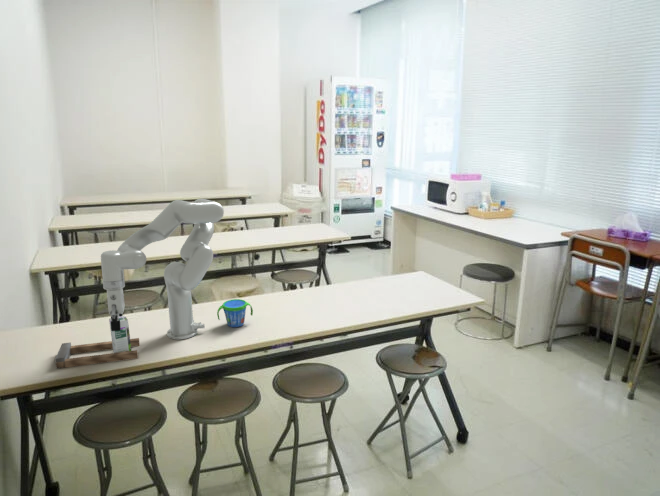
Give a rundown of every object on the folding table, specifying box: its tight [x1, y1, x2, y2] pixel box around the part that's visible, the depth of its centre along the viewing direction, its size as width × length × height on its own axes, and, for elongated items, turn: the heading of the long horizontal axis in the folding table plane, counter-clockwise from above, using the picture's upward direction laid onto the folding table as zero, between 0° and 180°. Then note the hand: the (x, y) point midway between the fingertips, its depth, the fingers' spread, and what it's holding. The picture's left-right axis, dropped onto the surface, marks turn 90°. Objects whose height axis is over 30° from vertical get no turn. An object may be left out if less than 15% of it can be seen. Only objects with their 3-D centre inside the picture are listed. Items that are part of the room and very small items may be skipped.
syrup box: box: [108, 315, 132, 353], centre depth 191 cm, size 6×6×14 cm
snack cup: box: [216, 298, 254, 328], centre depth 218 cm, size 16×10×10 cm
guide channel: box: [54, 337, 141, 370], centre depth 190 cm, size 28×13×4 cm, turn 108°
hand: (117, 325), depth 189 cm, fingers open, 9 cm apart
